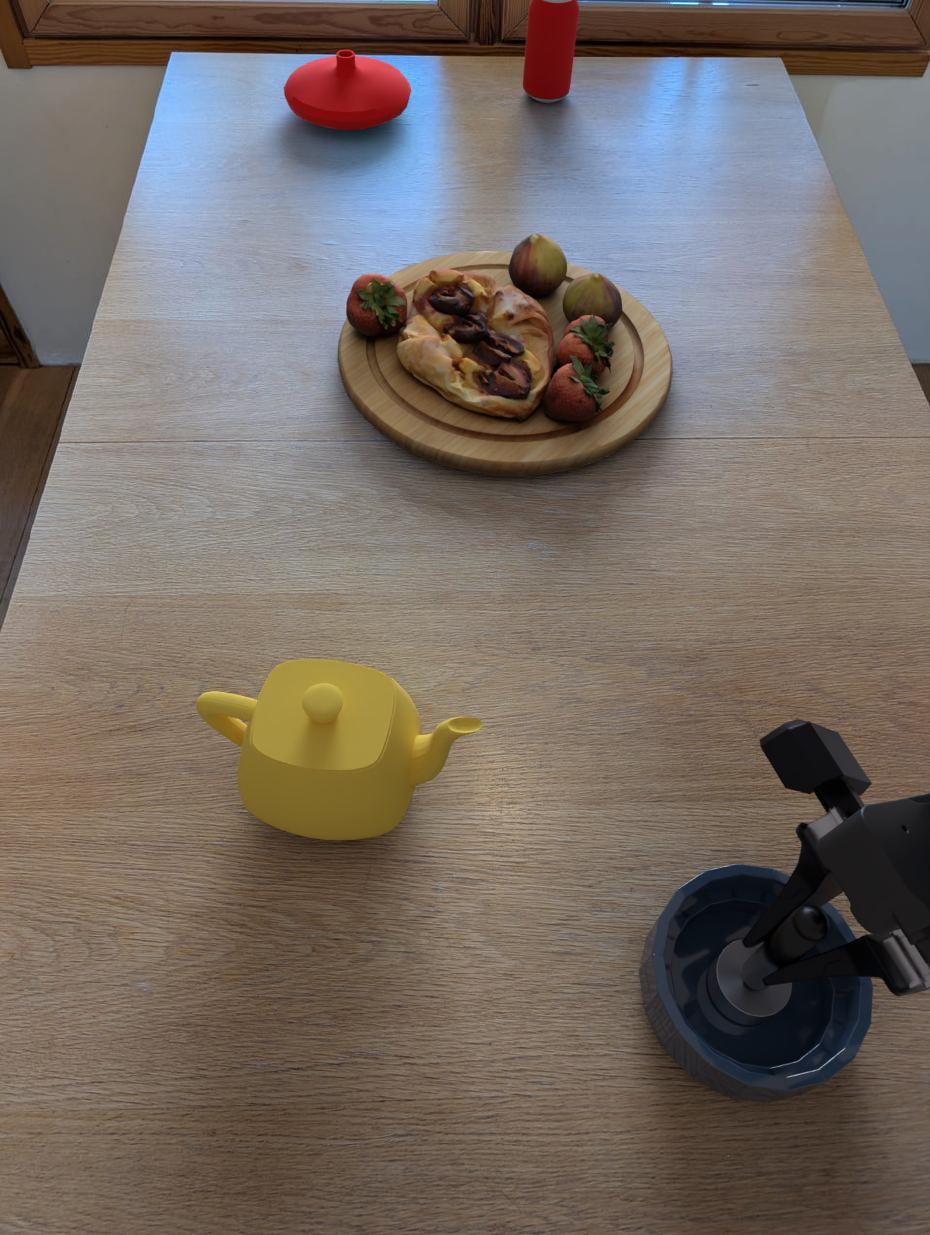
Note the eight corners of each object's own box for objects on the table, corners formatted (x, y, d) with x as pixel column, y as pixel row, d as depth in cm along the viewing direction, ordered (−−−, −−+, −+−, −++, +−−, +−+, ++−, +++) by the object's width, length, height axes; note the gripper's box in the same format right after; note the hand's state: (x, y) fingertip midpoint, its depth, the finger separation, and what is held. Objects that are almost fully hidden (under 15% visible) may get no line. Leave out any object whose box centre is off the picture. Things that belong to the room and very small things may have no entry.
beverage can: (573, 106, 122) (586, 2, 112) (526, 107, 121) (534, 3, 111) (563, 83, 125) (575, -19, 115) (518, 84, 124) (526, -18, 115)
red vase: (392, 154, 113) (390, 93, 107) (268, 134, 115) (260, 73, 109) (425, 94, 122) (425, 35, 116) (310, 76, 124) (304, 17, 118)
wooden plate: (274, 413, 86) (261, 338, 79) (428, 237, 103) (428, 163, 96) (602, 531, 79) (618, 461, 72) (708, 321, 96) (729, 248, 89)
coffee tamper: (718, 937, 58) (781, 860, 48) (787, 967, 57) (868, 895, 47) (698, 1005, 56) (761, 939, 45) (771, 1038, 55) (852, 979, 44)
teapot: (485, 729, 67) (494, 646, 59) (463, 876, 61) (469, 807, 52) (241, 694, 68) (214, 607, 60) (194, 836, 62) (156, 761, 53)
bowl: (848, 925, 60) (878, 899, 56) (833, 1137, 53) (865, 1125, 49) (658, 866, 62) (674, 837, 58) (618, 1063, 55) (633, 1046, 51)
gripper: (855, 627, 43) (604, 800, 50) (1150, 1032, 33) (788, 1183, 40) (923, 671, 52) (700, 815, 58) (1178, 1008, 42) (873, 1136, 48)
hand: (755, 963), depth 51 cm, fingers closed on coffee tamper, 2 cm apart
